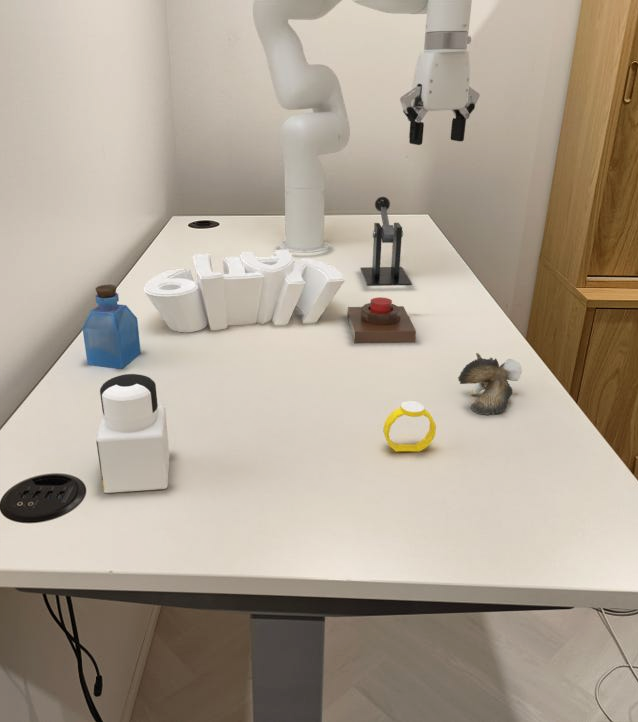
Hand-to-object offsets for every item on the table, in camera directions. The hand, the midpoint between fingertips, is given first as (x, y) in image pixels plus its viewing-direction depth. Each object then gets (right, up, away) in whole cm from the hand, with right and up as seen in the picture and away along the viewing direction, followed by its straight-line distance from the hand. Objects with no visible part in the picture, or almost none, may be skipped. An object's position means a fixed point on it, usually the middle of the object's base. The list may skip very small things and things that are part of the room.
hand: (436, 142), depth 129 cm
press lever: (-7, -13, +14) cm, 20 cm away
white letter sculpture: (-37, -34, -5) cm, 50 cm away
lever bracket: (-7, -25, +13) cm, 29 cm away
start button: (-13, -33, -13) cm, 38 cm away
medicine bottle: (-48, -55, -51) cm, 89 cm away
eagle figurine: (-3, -47, -36) cm, 59 cm away
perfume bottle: (-57, -42, -20) cm, 74 cm away
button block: (-13, -36, -12) cm, 41 cm away
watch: (-16, -53, -47) cm, 73 cm away
